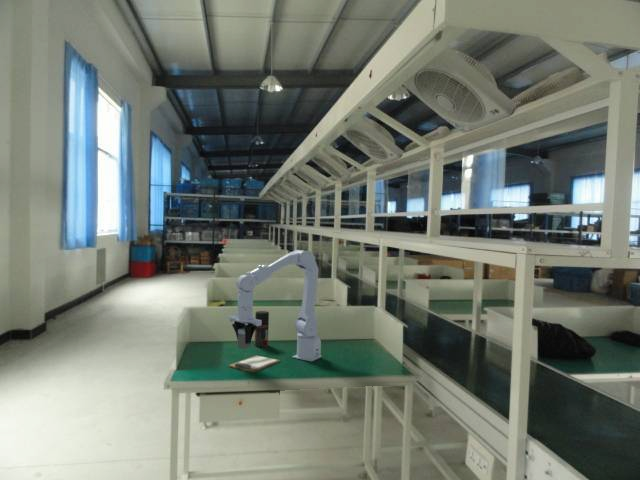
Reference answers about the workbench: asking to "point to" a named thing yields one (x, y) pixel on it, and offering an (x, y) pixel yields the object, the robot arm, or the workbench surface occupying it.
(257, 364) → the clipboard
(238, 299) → the robot arm
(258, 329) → the deodorant
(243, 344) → the block
